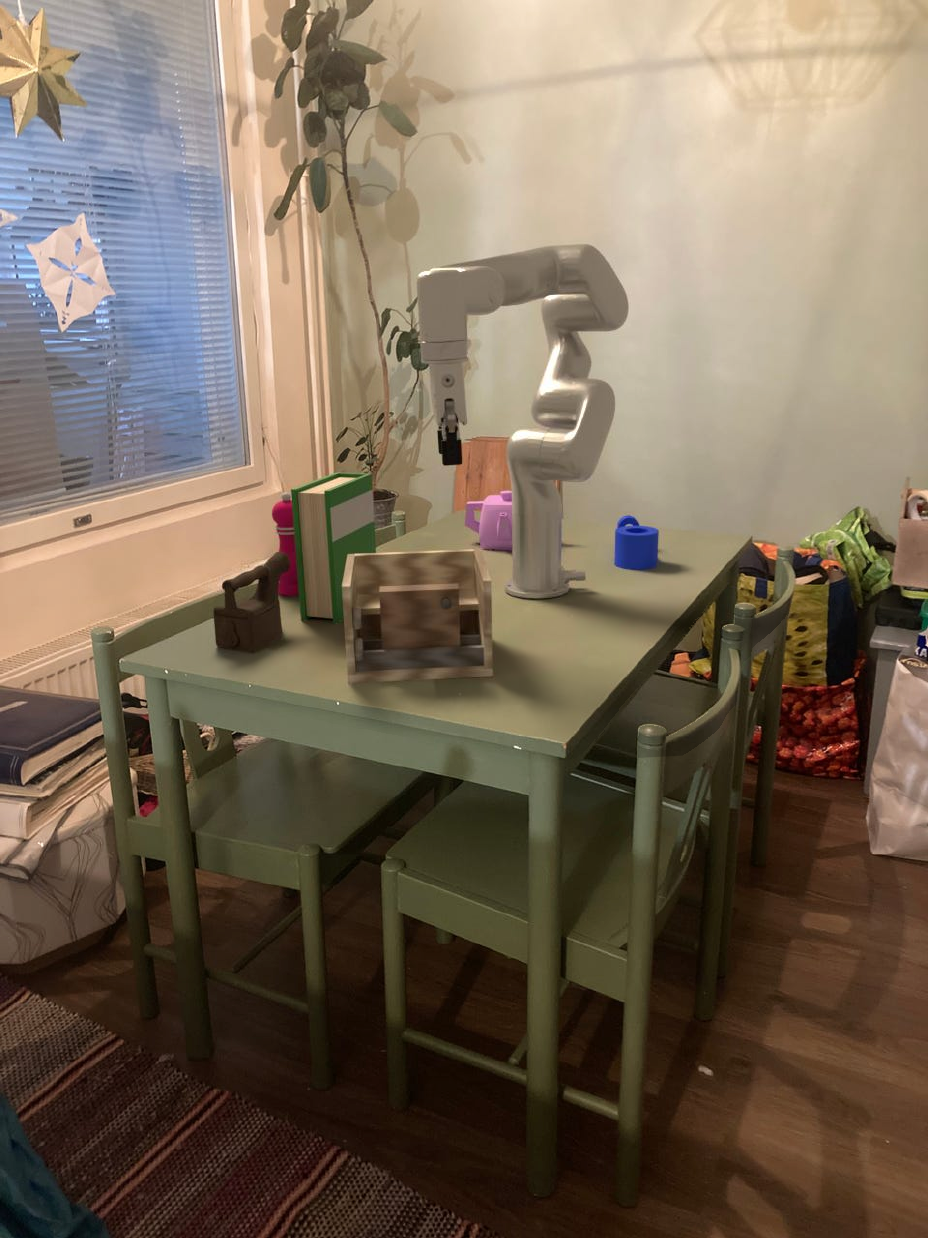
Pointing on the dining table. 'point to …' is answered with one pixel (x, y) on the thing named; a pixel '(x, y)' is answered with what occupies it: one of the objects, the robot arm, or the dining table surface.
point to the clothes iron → (252, 608)
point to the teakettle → (492, 521)
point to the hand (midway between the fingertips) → (450, 458)
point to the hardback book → (330, 537)
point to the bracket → (635, 545)
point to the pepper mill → (286, 544)
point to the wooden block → (419, 616)
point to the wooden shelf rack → (416, 569)
